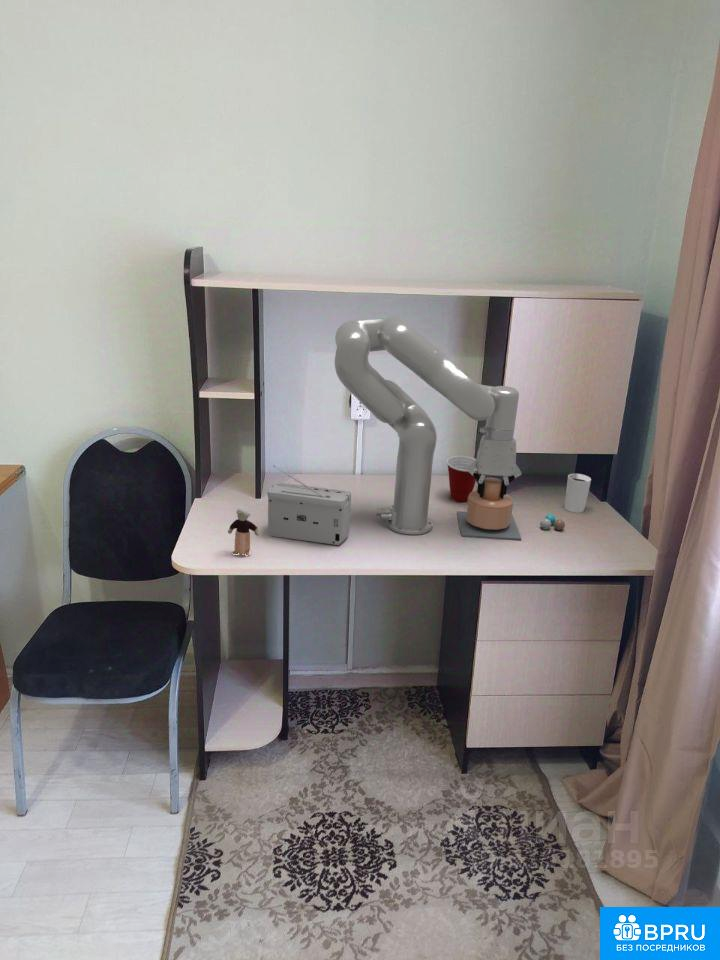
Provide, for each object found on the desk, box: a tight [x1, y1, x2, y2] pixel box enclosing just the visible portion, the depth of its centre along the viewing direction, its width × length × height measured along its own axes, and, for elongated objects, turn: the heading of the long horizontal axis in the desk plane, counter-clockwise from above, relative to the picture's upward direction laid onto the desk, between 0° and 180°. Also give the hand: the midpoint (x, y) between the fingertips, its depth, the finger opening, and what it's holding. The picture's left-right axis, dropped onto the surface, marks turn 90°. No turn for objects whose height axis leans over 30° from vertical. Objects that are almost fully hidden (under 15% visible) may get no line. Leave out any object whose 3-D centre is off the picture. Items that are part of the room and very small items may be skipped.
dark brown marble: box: [553, 519, 566, 531], centre depth 203 cm, size 3×3×3 cm
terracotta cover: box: [465, 476, 514, 530], centre depth 201 cm, size 12×12×12 cm
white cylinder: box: [564, 473, 592, 514], centre depth 217 cm, size 7×7×10 cm
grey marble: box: [539, 517, 552, 530], centre depth 203 cm, size 3×3×3 cm
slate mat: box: [456, 510, 522, 541], centre depth 203 cm, size 16×16×1 cm
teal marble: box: [544, 513, 557, 526], centre depth 207 cm, size 3×3×3 cm
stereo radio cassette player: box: [267, 464, 352, 546], centre depth 188 cm, size 21×8×20 cm, turn 78°
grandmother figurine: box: [227, 506, 260, 555], centre depth 178 cm, size 8×4×13 cm, turn 95°
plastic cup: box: [446, 455, 479, 503], centre depth 219 cm, size 11×11×12 cm
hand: (491, 495), depth 200 cm, fingers closed on terracotta cover, 5 cm apart
